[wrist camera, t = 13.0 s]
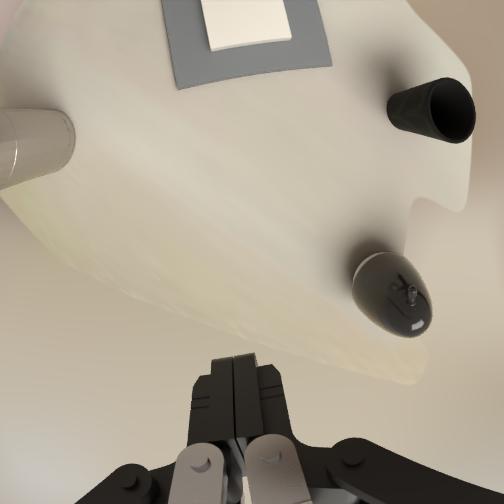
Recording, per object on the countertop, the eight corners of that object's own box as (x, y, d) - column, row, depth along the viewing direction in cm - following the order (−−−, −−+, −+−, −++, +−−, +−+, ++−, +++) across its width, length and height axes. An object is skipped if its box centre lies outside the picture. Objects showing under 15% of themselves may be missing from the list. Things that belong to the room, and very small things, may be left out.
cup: (394, 75, 36) (443, 64, 25) (431, 108, 38) (483, 108, 27) (371, 116, 39) (417, 114, 27) (409, 147, 40) (460, 157, 29)
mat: (178, 90, 36) (177, 89, 35) (159, -21, 29) (158, -23, 29) (330, 66, 36) (332, 65, 35) (302, -41, 29) (303, -43, 29)
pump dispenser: (395, 232, 45) (452, 273, 31) (406, 287, 49) (454, 338, 35) (336, 257, 46) (377, 311, 32) (352, 312, 49) (389, 373, 35)
